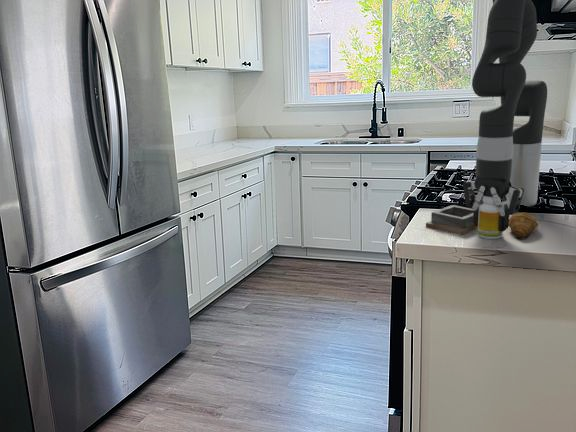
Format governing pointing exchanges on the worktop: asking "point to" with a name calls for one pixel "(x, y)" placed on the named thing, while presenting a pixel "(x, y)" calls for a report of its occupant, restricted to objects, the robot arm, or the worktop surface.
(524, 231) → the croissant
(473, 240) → the worktop surface
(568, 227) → the worktop surface
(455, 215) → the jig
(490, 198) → the supplement bottle
